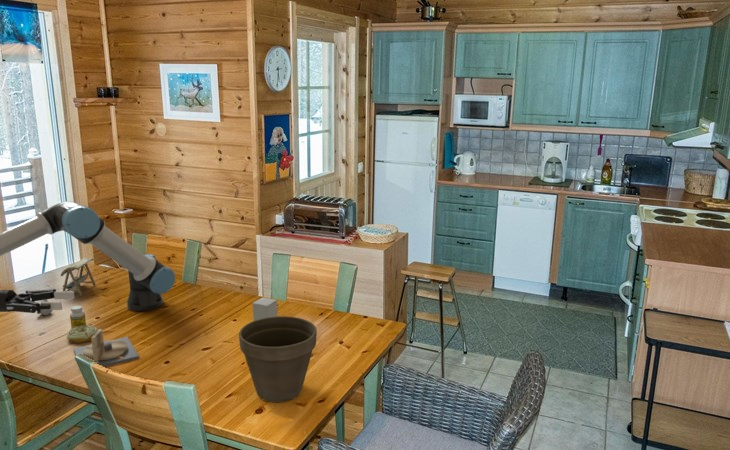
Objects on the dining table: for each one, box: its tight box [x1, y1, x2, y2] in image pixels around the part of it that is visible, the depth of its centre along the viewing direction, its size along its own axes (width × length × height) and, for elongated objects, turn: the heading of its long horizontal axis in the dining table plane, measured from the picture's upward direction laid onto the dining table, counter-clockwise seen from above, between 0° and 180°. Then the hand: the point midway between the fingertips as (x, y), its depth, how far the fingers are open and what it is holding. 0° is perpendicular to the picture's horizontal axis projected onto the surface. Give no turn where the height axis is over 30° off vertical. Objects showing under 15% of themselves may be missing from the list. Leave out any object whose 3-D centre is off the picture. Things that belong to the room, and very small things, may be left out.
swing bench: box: [60, 257, 97, 297], centre depth 270 cm, size 15×10×15 cm, turn 178°
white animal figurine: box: [36, 299, 53, 316], centre depth 242 cm, size 5×7×8 cm
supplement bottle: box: [69, 305, 87, 329], centre depth 228 cm, size 5×5×10 cm
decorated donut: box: [66, 324, 98, 344], centre depth 222 cm, size 10×11×4 cm
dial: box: [83, 328, 128, 361], centre depth 206 cm, size 17×15×10 cm
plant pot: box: [238, 315, 318, 403], centre depth 184 cm, size 25×25×22 cm
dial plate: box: [73, 336, 140, 368], centre depth 209 cm, size 19×19×1 cm
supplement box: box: [252, 297, 278, 321], centre depth 231 cm, size 7×7×13 cm
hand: (67, 300), depth 196 cm, fingers open, 9 cm apart
